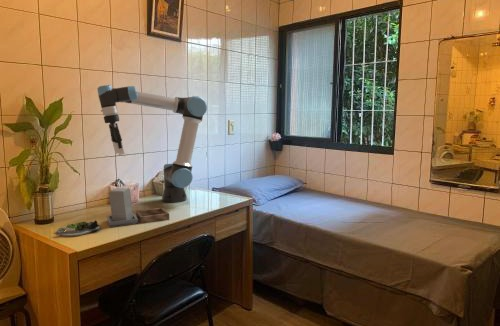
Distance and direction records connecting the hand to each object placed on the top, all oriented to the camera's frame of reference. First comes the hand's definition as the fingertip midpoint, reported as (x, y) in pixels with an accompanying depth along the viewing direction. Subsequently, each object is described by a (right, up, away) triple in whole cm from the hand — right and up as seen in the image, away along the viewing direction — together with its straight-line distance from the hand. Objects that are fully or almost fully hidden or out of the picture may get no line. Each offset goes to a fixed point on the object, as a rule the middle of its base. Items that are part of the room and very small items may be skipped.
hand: (119, 153), depth 202 cm
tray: (+7, -34, -17) cm, 39 cm away
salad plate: (-8, -37, -29) cm, 48 cm away
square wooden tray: (+20, -33, -9) cm, 40 cm away
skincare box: (+7, -34, -17) cm, 38 cm away
